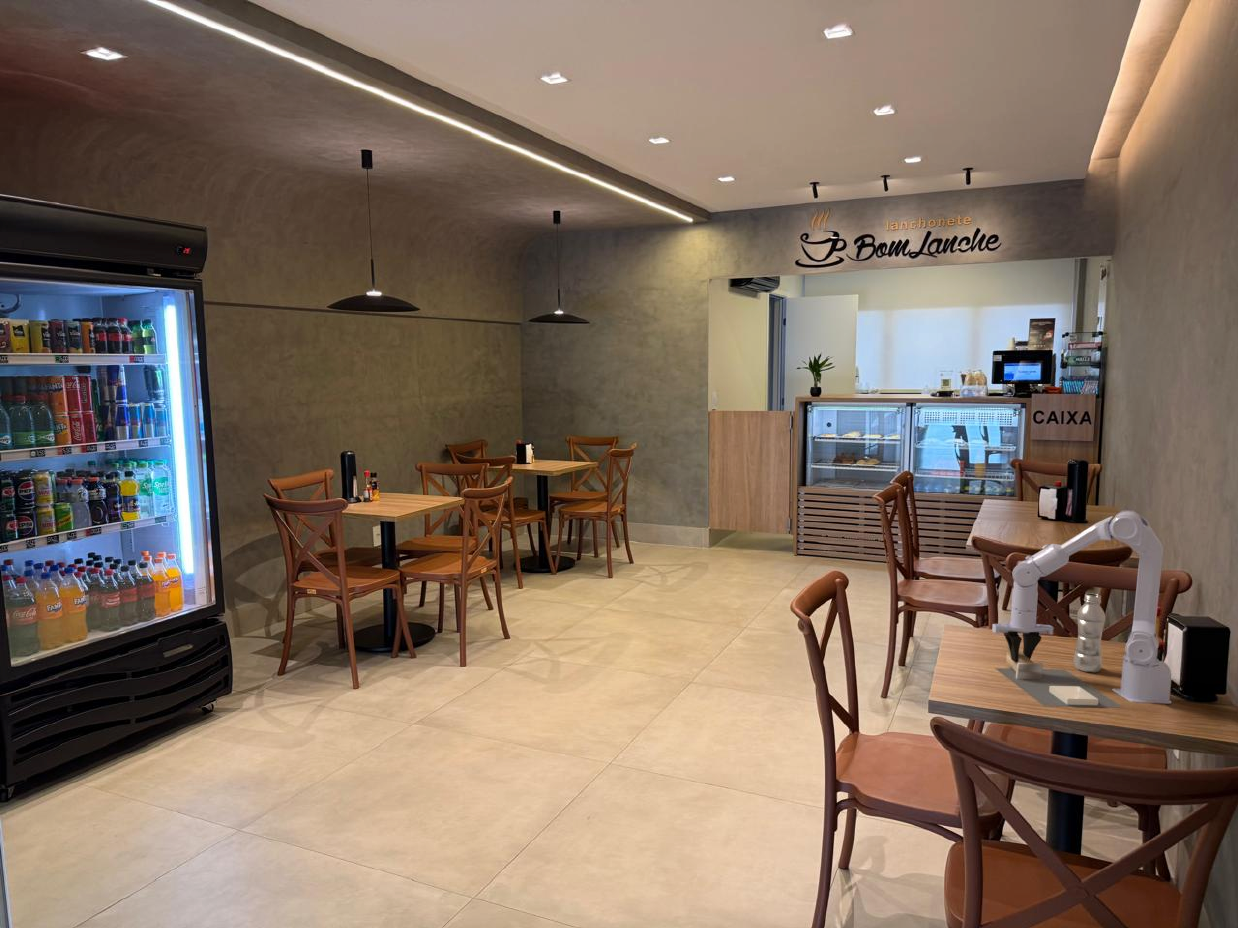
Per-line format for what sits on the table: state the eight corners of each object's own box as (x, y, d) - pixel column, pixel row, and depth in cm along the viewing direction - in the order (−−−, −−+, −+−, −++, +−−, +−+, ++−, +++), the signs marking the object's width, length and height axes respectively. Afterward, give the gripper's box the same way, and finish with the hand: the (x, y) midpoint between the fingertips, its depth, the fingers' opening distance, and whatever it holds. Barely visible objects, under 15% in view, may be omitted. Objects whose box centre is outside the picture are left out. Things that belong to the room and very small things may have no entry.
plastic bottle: (1075, 673, 212) (1081, 596, 210) (1070, 665, 218) (1076, 590, 216) (1104, 676, 210) (1110, 599, 208) (1098, 668, 216) (1104, 593, 214)
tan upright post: (1022, 662, 216) (1023, 648, 215) (1041, 679, 206) (1043, 664, 205) (999, 662, 216) (1000, 647, 215) (1017, 678, 206) (1018, 663, 205)
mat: (1064, 671, 214) (1064, 669, 214) (1123, 709, 189) (1123, 707, 189) (994, 669, 214) (994, 668, 214) (1044, 707, 189) (1044, 705, 189)
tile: (1079, 686, 197) (1098, 699, 189) (1078, 692, 197) (1097, 706, 189) (1049, 685, 197) (1067, 698, 189) (1049, 692, 197) (1067, 705, 189)
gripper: (1044, 604, 213) (1041, 656, 214) (988, 603, 213) (984, 654, 214) (1059, 612, 206) (1055, 665, 207) (1000, 611, 206) (997, 664, 207)
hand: (1020, 660), depth 210 cm, fingers closed on tan upright post, 2 cm apart
